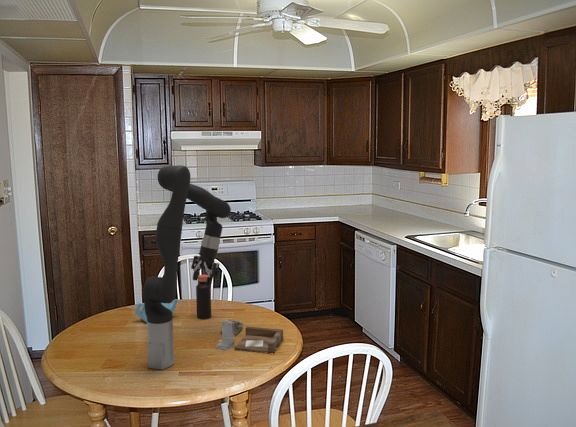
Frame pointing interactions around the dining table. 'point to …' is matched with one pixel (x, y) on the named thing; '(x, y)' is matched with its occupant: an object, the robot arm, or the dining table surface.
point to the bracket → (227, 336)
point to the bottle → (203, 298)
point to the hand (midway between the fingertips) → (201, 282)
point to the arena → (260, 340)
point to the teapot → (171, 307)
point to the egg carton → (236, 326)
